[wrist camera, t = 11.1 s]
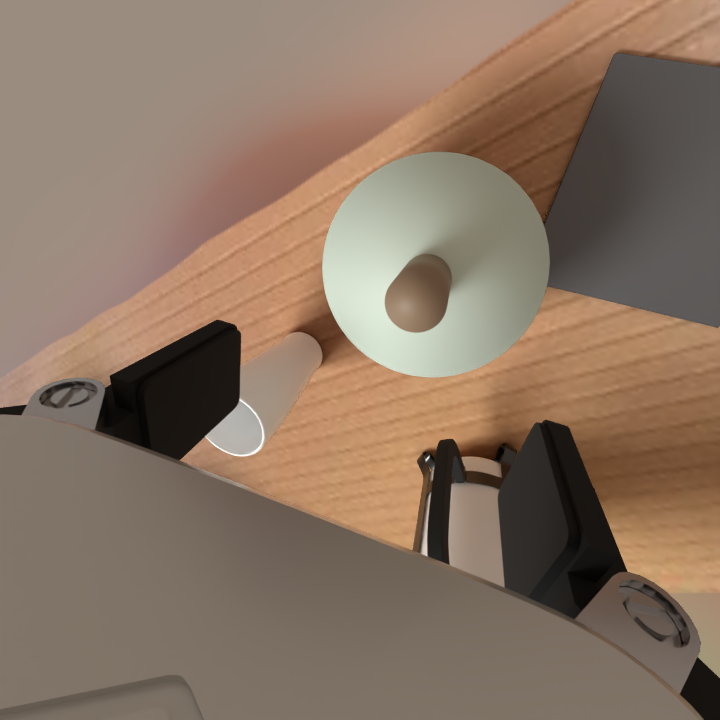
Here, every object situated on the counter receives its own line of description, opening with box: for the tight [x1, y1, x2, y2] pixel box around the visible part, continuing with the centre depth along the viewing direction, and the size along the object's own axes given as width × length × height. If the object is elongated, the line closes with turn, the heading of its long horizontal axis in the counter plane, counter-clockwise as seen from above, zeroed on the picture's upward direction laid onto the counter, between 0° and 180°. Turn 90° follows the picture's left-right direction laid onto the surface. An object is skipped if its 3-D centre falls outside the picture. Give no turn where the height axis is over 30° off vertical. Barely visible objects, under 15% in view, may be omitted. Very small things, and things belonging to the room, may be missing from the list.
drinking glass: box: [205, 332, 322, 456], centre depth 35 cm, size 7×7×15 cm
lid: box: [322, 152, 550, 377], centre depth 23 cm, size 16×16×7 cm
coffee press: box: [412, 439, 517, 587], centre depth 30 cm, size 17×16×30 cm
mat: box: [544, 53, 720, 328], centre depth 27 cm, size 16×16×1 cm
